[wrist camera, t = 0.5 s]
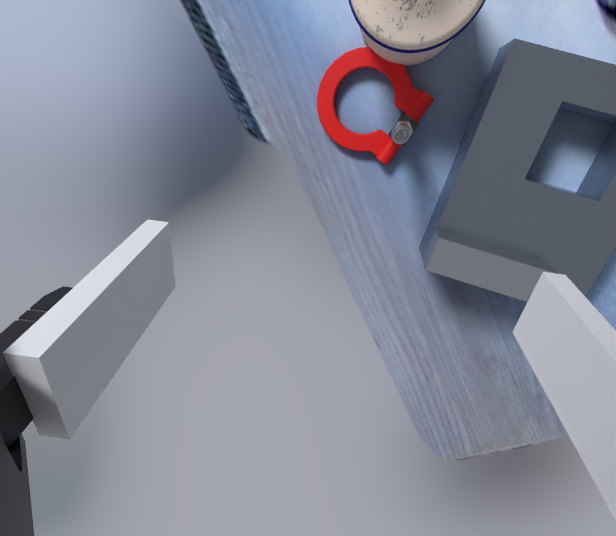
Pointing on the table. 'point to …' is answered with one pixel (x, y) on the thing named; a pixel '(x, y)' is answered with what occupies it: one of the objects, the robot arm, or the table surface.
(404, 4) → the teacup with lid
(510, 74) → the jig
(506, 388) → the table surface
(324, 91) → the tow hook
